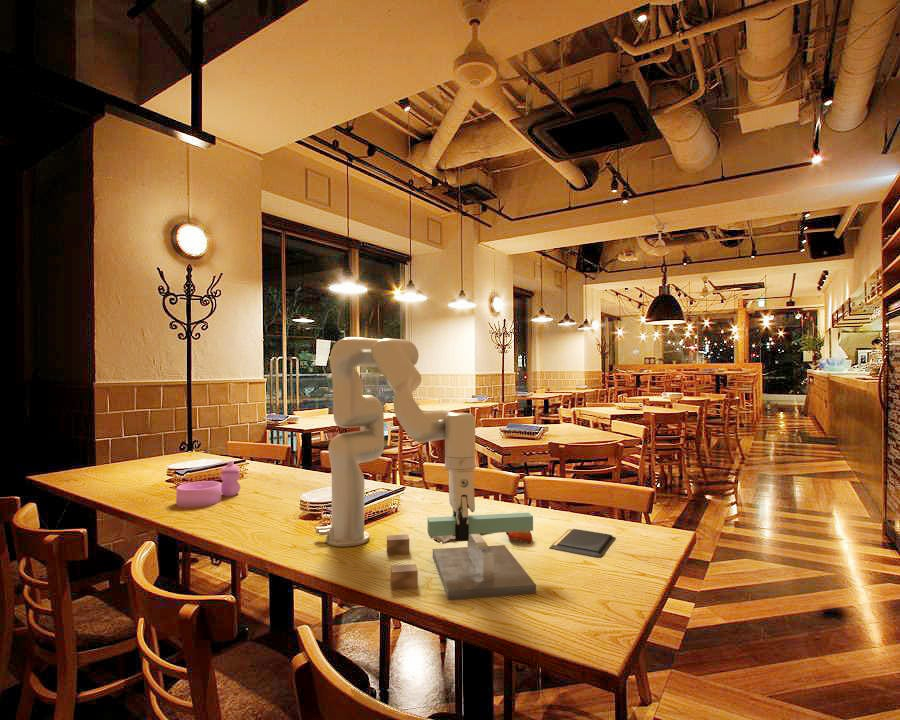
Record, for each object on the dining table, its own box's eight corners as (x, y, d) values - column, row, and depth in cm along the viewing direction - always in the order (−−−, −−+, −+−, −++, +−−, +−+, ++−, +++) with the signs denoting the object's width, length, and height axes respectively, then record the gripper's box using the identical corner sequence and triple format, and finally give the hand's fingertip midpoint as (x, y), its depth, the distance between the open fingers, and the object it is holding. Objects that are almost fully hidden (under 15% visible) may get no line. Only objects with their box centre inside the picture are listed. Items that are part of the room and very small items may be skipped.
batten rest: (391, 590, 114) (391, 572, 114) (386, 549, 139) (386, 535, 140) (417, 588, 115) (417, 570, 115) (408, 548, 140) (408, 534, 140)
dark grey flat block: (600, 554, 133) (546, 543, 141) (600, 561, 133) (546, 550, 141) (618, 533, 150) (569, 525, 158) (618, 539, 150) (569, 531, 158)
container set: (192, 509, 179) (193, 473, 180) (167, 504, 187) (168, 469, 187) (250, 495, 201) (251, 462, 202) (225, 490, 209) (226, 458, 209)
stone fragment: (426, 542, 149) (450, 550, 142) (426, 532, 149) (449, 540, 142) (483, 523, 167) (506, 529, 160) (483, 514, 167) (506, 520, 160)
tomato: (525, 542, 142) (513, 519, 146) (509, 554, 144) (497, 532, 148) (540, 540, 148) (527, 517, 152) (524, 552, 150) (512, 530, 154)
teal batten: (533, 530, 124) (533, 516, 124) (429, 536, 120) (429, 521, 120) (528, 526, 127) (528, 512, 128) (427, 531, 123) (427, 517, 123)
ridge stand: (448, 600, 109) (448, 563, 109) (432, 556, 134) (432, 526, 135) (536, 593, 112) (536, 557, 112) (504, 552, 138) (504, 523, 138)
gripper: (482, 468, 116) (483, 548, 115) (468, 457, 132) (468, 527, 131) (450, 469, 114) (451, 550, 114) (440, 458, 131) (440, 528, 130)
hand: (460, 537), depth 123 cm, fingers closed on teal batten, 3 cm apart
